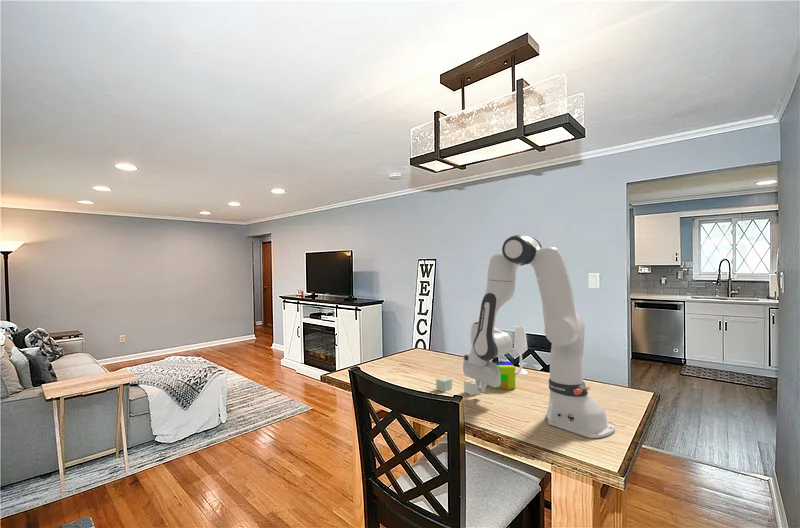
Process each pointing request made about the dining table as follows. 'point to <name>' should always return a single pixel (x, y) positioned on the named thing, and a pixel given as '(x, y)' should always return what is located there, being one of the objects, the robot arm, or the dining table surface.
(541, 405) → the dining table surface
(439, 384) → the sage block
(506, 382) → the puzzle toy
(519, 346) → the champagne flute
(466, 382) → the letter block
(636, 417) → the dining table surface
